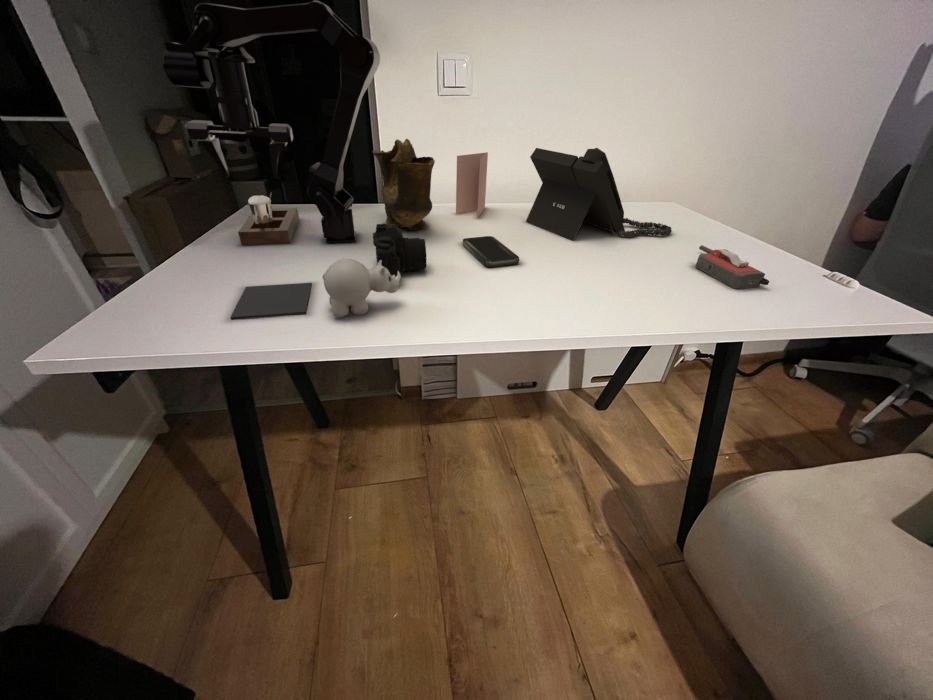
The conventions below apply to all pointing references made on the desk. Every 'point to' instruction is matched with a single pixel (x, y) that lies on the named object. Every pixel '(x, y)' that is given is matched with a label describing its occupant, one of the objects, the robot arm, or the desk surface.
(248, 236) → the rack
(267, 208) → the milkshake
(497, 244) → the phone
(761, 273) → the walkie-talkie
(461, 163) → the greeting card
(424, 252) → the film camera
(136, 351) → the desk surface
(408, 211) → the pottery vessel
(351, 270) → the round bodied animal figurine
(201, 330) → the desk surface
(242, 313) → the mat
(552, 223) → the office phone
